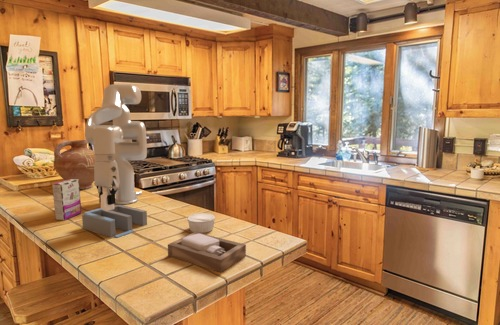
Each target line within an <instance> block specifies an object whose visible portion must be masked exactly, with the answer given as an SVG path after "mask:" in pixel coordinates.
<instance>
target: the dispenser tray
mask: <svg viewBox="0 0 500 325" xmlns="http://www.w3.org/2000/svg"><path fill="white" fill-rule="evenodd" d="M195 234H203V235H206V236H209V237H212V238H215V239H218V240H219V247H222V248H224V249H225V250H224V251H226V253H224V252H222V254H220V255H214V254H211V253H207V252H204V251H200V250H197V249H193V248H190V247H186V246H183V245H181V243H182V239H183V238H184V237H187V236H191V235H195ZM246 249H247V244H245V243H241V242H237V241H234V240H233V241H232V240H229V239H225V238H222V237H218V236H217V237H216V236H214V235H213V236H212V235H209V234H206V233H198V232H191V233H190V234H188V235H185V236H183V237H181V238H179V239H176V240H174V241H173V242H170V243H168V244H167V256H168V257H171V258H174V259H177V260H180V261H184V262H186V263H189V264H193V265H196V266H199V267H202V268H205V269H209V270H211V271H214V272H217V273H223V272H224V271H226V270H227V269H229V268H230V267H232V266H233V265H234V264H236V263H238V262H239V261H241V260H242V259H243V258H245V257H246V256H247V250H246Z"/></svg>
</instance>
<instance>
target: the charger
mask: <svg viewBox="0 0 500 325" xmlns="http://www.w3.org/2000/svg"><path fill="white" fill-rule="evenodd" d="M203 234H204V233H202V234H195V235H191V236H187V235H186V236H187V237H185V236H183V237H184V238H183V237H182V238H183V239H182V243H181V245H183V246H186V247H190V248H193V249H197V250H200V251H204V252H207V253H211V254H214V255H218V256H221V255H222V254H224V253H226V251H224V250H225V249H224V248H222V247H219V240H218V239H215V238H212V237H209V236H206V235H207V234H206V235H203ZM223 252H224V253H223Z"/></svg>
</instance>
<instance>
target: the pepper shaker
mask: <svg viewBox="0 0 500 325" xmlns="http://www.w3.org/2000/svg"><path fill="white" fill-rule="evenodd" d="M110 190H112V188H110ZM102 192H103V194H102V195H101V196H100V198H101V203H100V208H101V209H102V210H104V211H109V210H113V209H114V206H115V204H111V205H108V201H107V195H108V190H107V187H102Z"/></svg>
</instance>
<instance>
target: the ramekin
mask: <svg viewBox="0 0 500 325" xmlns="http://www.w3.org/2000/svg"><path fill="white" fill-rule="evenodd" d="M215 221H216V217H215V215H214V214H212V213H206V212H205V213H204V212H201V213H200V212H198V213H194V214H190V215H188V216H187V222H188V227H189V231H191V233H194V232H198V233H202V234H206V233H209V232H211V231H212V230H213V229H214V225H215Z"/></svg>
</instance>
